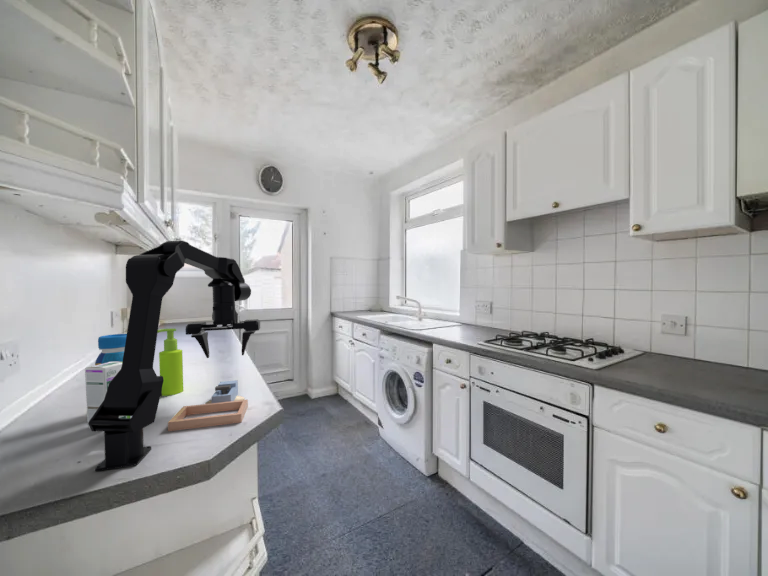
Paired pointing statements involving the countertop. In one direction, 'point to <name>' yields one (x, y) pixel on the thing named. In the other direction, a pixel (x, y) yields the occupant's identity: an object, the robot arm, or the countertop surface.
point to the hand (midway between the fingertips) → (225, 356)
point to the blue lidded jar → (111, 348)
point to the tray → (181, 423)
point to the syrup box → (99, 385)
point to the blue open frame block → (230, 394)
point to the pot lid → (224, 391)
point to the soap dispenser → (171, 365)
